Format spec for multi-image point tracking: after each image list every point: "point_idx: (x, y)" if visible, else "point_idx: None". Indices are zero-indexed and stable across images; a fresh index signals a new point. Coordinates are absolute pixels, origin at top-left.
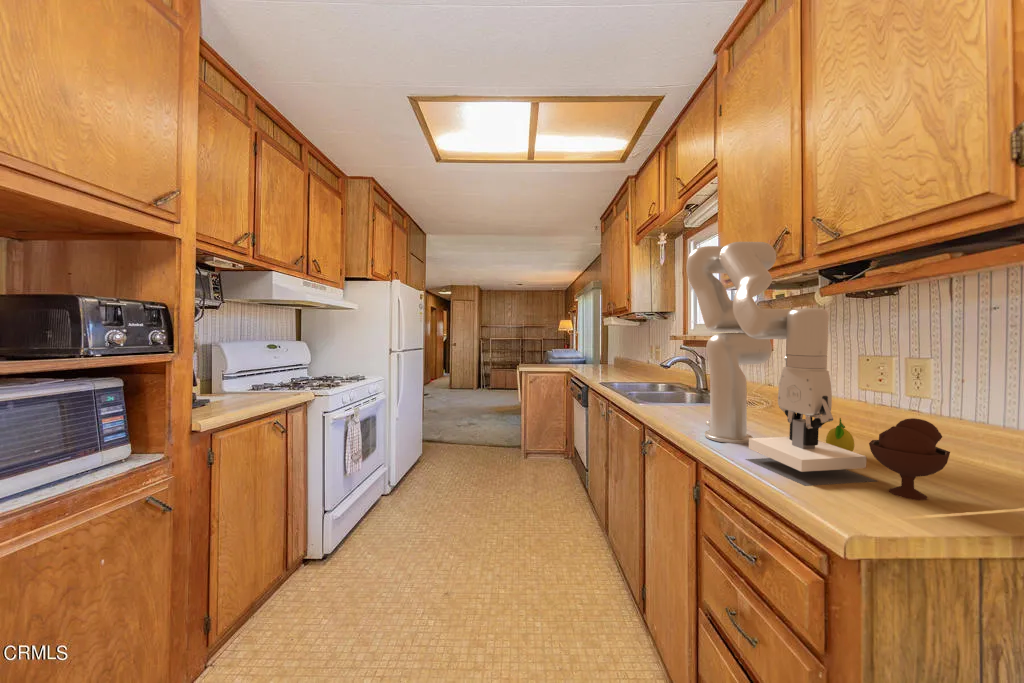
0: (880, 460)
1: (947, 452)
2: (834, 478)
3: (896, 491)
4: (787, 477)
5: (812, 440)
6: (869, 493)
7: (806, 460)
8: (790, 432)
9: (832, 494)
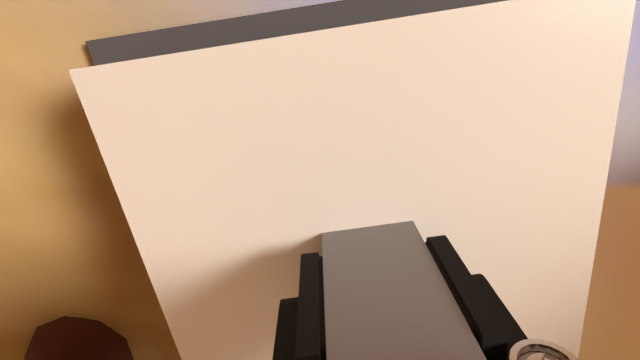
0: None
1: None
2: None
3: (64, 340)
4: (202, 27)
5: (279, 311)
6: (83, 265)
7: (86, 108)
8: (457, 269)
9: (27, 115)
